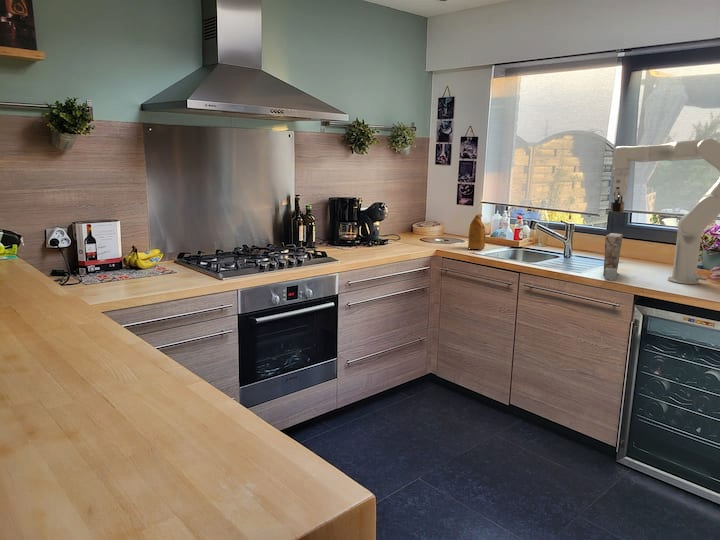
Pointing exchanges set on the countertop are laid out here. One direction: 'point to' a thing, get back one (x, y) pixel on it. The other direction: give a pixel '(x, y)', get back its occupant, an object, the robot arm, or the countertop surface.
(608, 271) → the slate grey cube
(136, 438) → the countertop surface
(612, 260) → the stone block
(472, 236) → the coffee package
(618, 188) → the robot arm
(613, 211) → the walnut cube
